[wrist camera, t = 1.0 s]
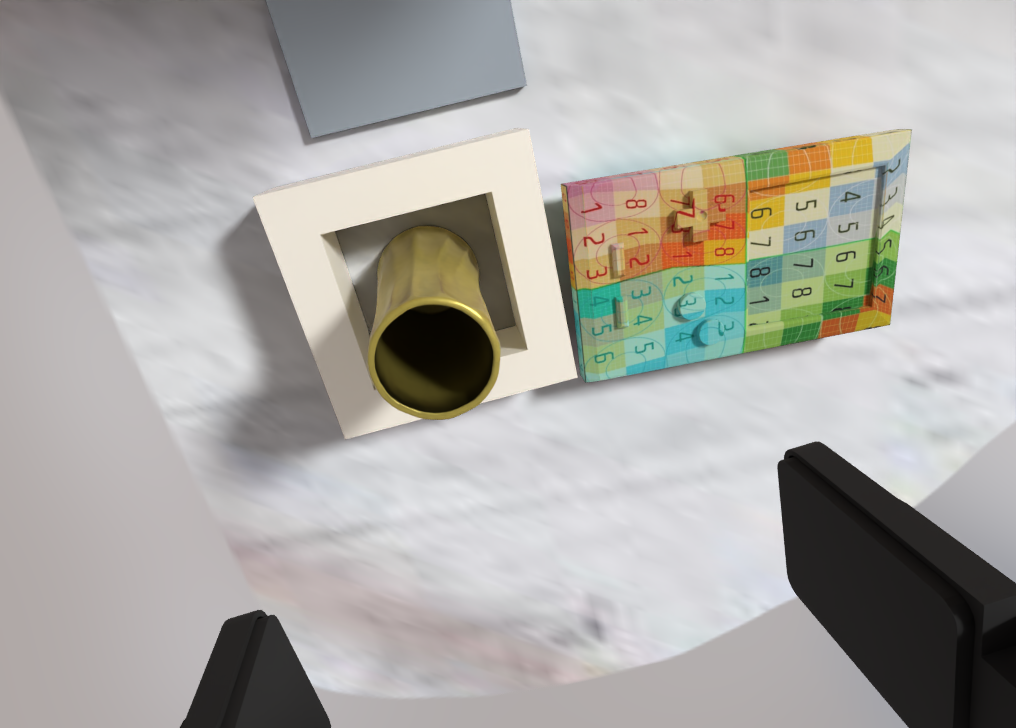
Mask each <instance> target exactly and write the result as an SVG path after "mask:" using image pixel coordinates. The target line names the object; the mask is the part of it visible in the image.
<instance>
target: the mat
mask: <svg viewBox="0 0 1016 728" xmlns="http://www.w3.org/2000/svg"><path fill="white" fill-rule="evenodd" d="M266 3H267V6H268V9H269V12H270V15H271V18H272V21H273V24H274V27H275V30H276V33H277V36H278V39H279V42H280V45H281V48H282V51H283V54H284V57H285V60H286V63H287V66H288V69H289V72H290V75H291V78H292V81H293V84H294V87H295V90H296V93H297V96H298V99H299V102H300V105H301V108H302V111H303V115H304V118H305V121H306V124H307V127H308V130H309V133H310V136H311V138H315V137H319V136H323V135H327V134H331V133H335V132H339V131H343V130H347V129H351V128H356V127H360V126H364V125H368V124H372V123H376V122H380V121H384V120H388V119H392V118H397V117H401V116H405V115H409V114H413V113H417V112H421V111H425V110H429V109H433V108H438V107H442V106H446V105H450V104H454V103H458V102H462V101H466V100H470V99H475V98H479V97H483V96H487V95H491V94H495V93H499V92H503V91H507V90H511V89H516V88H520V87H524V86H527V84H526V79H525V73H524V68H523V63H522V58H521V53H520V47H519V42H518V37H517V32H516V27H515V21H514V16H513V11H512V6H511V1H510V0H266Z"/></svg>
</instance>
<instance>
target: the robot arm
mask: <svg viewBox="0 0 1016 728" xmlns="http://www.w3.org/2000/svg"><path fill="white" fill-rule="evenodd" d="M778 479H779V490H780V501H781V512H782V523H783V534H784V545H785V556H786V567H787V575H788V579H789V582H790V584H791V587H792V588H793V590H794V592H795V593H796V595H797V596H798V597H799V598H800V600H801V601H802V602H803V603H804V604H805V605H806V607H807V608H808V609H809V610H810V611H811V613H812V614H813V615H814V616H815V617H816V618H817V620H818V621H819V622H820V623H821V624H822V625H823V626H824V628H825V629H826V630H827V632H828V633H829V634H830V635H831V636H832V637H833V638H834V640H835V641H836V642H837V643H838V644H839V646H840V647H841V648H842V649H843V650H844V652H845V653H846V654H847V655H848V656H849V658H850V659H851V660H852V661H853V662H854V663H855V665H856V666H857V667H858V668H859V669H860V670H861V672H862V673H863V674H864V675H865V676H866V678H867V679H868V680H869V681H870V682H871V684H872V685H873V686H874V687H875V688H876V689H877V691H878V692H879V693H880V694H881V695H882V697H883V698H884V699H885V700H886V701H887V702H888V704H889V705H890V706H891V707H892V708H893V710H894V711H895V712H896V713H897V714H898V715H899V717H900V718H901V719H902V720H903V721H904V722H905V724H906V725H907V726H908V727H909V728H1016V583H1015V582H1013V581H1012V580H1010V579H1009V578H1008V577H1006V576H1005V575H1004V574H1002V573H1001V572H1000V571H998V570H997V569H996V568H994V567H993V566H991V565H990V564H989V563H987V562H986V561H985V560H983V559H982V558H981V557H979V556H978V555H976V554H975V553H974V552H972V551H971V550H970V549H968V548H967V547H966V546H964V545H963V544H961V543H960V542H959V541H957V540H956V539H955V538H953V537H952V536H951V535H949V534H948V533H946V532H945V531H944V530H942V529H941V528H940V527H938V526H937V525H936V524H934V523H933V522H931V521H930V520H929V519H927V518H926V517H925V516H923V515H922V514H920V513H919V512H918V511H916V510H915V509H914V508H912V507H911V506H910V505H908V504H907V503H905V502H903V501H901V500H900V499H898V498H896V497H895V496H894V495H892V494H891V493H890V492H888V491H887V490H885V489H884V488H883V487H881V486H880V485H879V484H877V483H876V482H875V481H873V480H872V479H871V478H869V477H868V476H866V475H865V474H864V473H862V472H861V471H860V470H858V469H857V468H856V467H854V466H853V465H851V464H850V463H849V462H847V461H846V460H845V459H843V458H842V457H841V456H839V455H838V454H837V453H835V452H834V451H832V450H831V449H830V448H828V447H827V446H826V445H824V444H823V443H821V442H812V443H809V444H806V445H803V446H799V447H796V448H793V449H789V450H787V451H786V452H785V455H784V460H781V461H779V462H778ZM180 728H331V724H330V721H329V718H328V716H327V714H326V712H325V710H324V708H323V706H322V704H321V702H320V700H319V698H318V696H317V694H316V692H315V690H314V688H313V686H312V684H311V682H310V680H309V679H308V677H307V675H306V673H305V671H304V669H303V667H302V665H301V663H300V661H299V659H298V657H297V655H296V653H295V651H294V649H293V647H292V645H291V643H290V641H289V639H288V637H287V636H286V634H285V632H284V630H283V628H282V626H281V624H280V622H279V620H278V618H277V617H276V616H275V615H270V616H267V615H266V613H265V612H263V611H262V610H257V611H253V612H250V613H247V614H243V615H240V616H237V617H234V618H230V619H228V620H226V621H225V622H224V624H223V626H222V628H221V631H220V633H219V636H218V638H217V641H216V644H215V646H214V648H213V651H212V654H211V656H210V659H209V661H208V664H207V666H206V669H205V671H204V674H203V676H202V679H201V681H200V684H199V687H198V689H197V692H196V694H195V697H194V699H193V702H192V704H191V707H190V709H189V712H188V714H187V717H186V719H185V720H184V721H183V723H182V725H181V726H180Z"/></svg>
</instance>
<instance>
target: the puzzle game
mask: <svg viewBox="0 0 1016 728" xmlns="http://www.w3.org/2000/svg"><path fill="white" fill-rule="evenodd" d="M911 131H912V130H910V129H897V130H889V131H883V132H876V133H870V134H864V135H858V136H852V137H846V138H840V139H833V140H827V141H821V142H815V143H809V144H803V145H797V146H791V147H784V148H778V149H772V150H766V151H760V152H754V153H748V154H741V155H735V156H729V157H723V158H717V159H711V160H705V161H699V162H692V163H686V164H680V165H674V166H668V167H662V168H656V169H649V170H643V171H637V172H631V173H625V174H619V175H613V176H606V177H600V178H594V179H588V180H582V181H576V182H570V183H564V184H561V191H562V201H563V211H564V221H565V230H566V240H567V250H568V259H569V269H570V279H571V289H572V298H573V308H574V318H575V328H576V337H577V347H578V357H579V367H580V375H581V377H582V378H583V380H584V381H585V382H594V381H602V380H607V379H612V378H617V377H622V376H628V375H633V374H638V373H643V372H648V371H653V370H659V369H664V368H669V367H674V366H679V365H684V364H690V363H695V362H700V361H705V360H710V359H716V358H721V357H726V356H731V355H736V354H741V353H747V352H752V351H757V350H762V349H767V348H773V347H778V346H783V345H788V344H793V343H798V342H804V341H809V340H814V339H819V338H824V337H830V336H835V335H840V334H845V333H850V332H855V331H861V330H866V329H871V328H876V327H881V326H887V325H890V320H891V311H892V302H893V293H894V284H895V275H896V266H897V257H898V248H899V239H900V230H901V221H902V212H903V203H904V194H905V185H906V176H907V167H908V158H909V149H910V140H911Z"/></svg>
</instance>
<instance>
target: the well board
mask: <svg viewBox="0 0 1016 728" xmlns="http://www.w3.org/2000/svg"><path fill="white" fill-rule="evenodd" d="M484 193H485V194H486V198H487V203H488V207H489V211H490V216H491V220H492V224H493V229H494V233H495V237H496V241H497V246H498V250H499V254H500V259H501V263H502V267H503V272H504V276H505V280H506V285H507V289H508V293H509V297H510V302H511V306H512V310H513V315H514V319H515V323H516V326H513V327H509V328H505V329H502V330H498V331H495V332H496V334H497V337H498V339H499V342H500V348H501V355H500V368H499V375H498V378H497V380H496V383H495V385H494V387H493V388H492V390H491V391H490V393H489V394H488V396H487V397H486V398H485V399H484V400H483V401H482V402H481V403H484V402H488V401H492V400H495V399H499V398H503V397H507V396H510V395H514V394H518V393H522V392H525V391H529V390H533V389H537V388H541V387H544V386H548V385H552V384H556V383H559V382H563V381H567V380H571V379H574V378H578V377H577V372H576V367H575V362H574V357H573V352H572V346H571V341H570V336H569V331H568V326H567V321H566V316H565V311H564V306H563V301H562V296H561V290H560V285H559V280H558V275H557V270H556V265H555V260H554V255H553V250H552V245H551V239H550V234H549V229H548V224H547V219H546V214H545V209H544V204H543V199H542V194H541V188H540V183H539V178H538V173H537V168H536V163H535V158H534V153H533V148H532V143H531V137H530V132H529V129H521V128H514V129H510V130H506V131H502V132H498V133H494V134H490V135H486V136H482V137H478V138H474V139H470V140H465V141H461V142H457V143H453V144H449V145H445V146H441V147H437V148H433V149H429V150H425V151H421V152H417V153H413V154H409V155H405V156H401V157H397V158H393V159H388V160H384V161H380V162H376V163H372V164H368V165H364V166H360V167H356V168H352V169H348V170H344V171H340V172H336V173H332V174H328V175H324V176H320V177H316V178H311V179H307V180H303V181H299V182H295V183H291V184H287V185H283V186H279V187H275V188H272V189H270V190H267V191H265V192H263V193H261V194H259V195H256V196H254V197H253V200H254V203H255V205H256V208H257V210H258V213H259V216H260V218H261V221H262V223H263V226H264V229H265V231H266V234H267V236H268V239H269V242H270V244H271V247H272V250H273V252H274V255H275V257H276V260H277V263H278V265H279V268H280V270H281V273H282V276H283V278H284V281H285V283H286V286H287V289H288V291H289V294H290V297H291V299H292V302H293V304H294V307H295V310H296V312H297V315H298V317H299V320H300V323H301V325H302V328H303V330H304V333H305V336H306V338H307V341H308V344H309V346H310V349H311V351H312V354H313V357H314V359H315V362H316V364H317V367H318V370H319V372H320V375H321V377H322V380H323V383H324V385H325V388H326V391H327V393H328V396H329V398H330V401H331V404H332V406H333V409H334V411H335V414H336V417H337V419H338V422H339V425H340V427H341V430H342V432H343V435H344V438H345V439H349V438H353V437H357V436H360V435H364V434H368V433H372V432H375V431H379V430H383V429H387V428H390V427H394V426H398V425H402V424H405V423H409V422H413V421H417V420H420V419H422V418H418V417H415V416H412V415H409V414H407V413H404V412H402V411H399V410H397V409H396V408H394V407H393V406H391V405H390V404H389V403H388V402H386V401H385V400H384V399H383V398H382V397H381V395H380V394H379V392H378V391H377V389H376V387H375V385H374V383H373V381H372V378H371V376H370V373H369V369H368V362H367V359H368V345H369V338H370V334H369V331H368V328H367V325H366V322H365V319H364V316H363V313H362V310H361V307H360V304H359V301H358V298H357V295H356V292H355V289H354V286H353V283H352V280H351V278H350V275H349V272H348V269H347V266H346V263H345V260H344V257H343V254H342V251H341V248H340V245H339V242H338V239H337V236H336V233H335V231H337V230H341V229H345V228H349V227H353V226H357V225H361V224H365V223H369V222H373V221H377V220H381V219H385V218H389V217H393V216H396V215H400V214H404V213H408V212H412V211H416V210H420V209H424V208H428V207H432V206H436V205H440V204H444V203H448V202H452V201H456V200H460V199H464V198H468V197H472V196H476V195H480V194H484Z"/></svg>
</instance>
